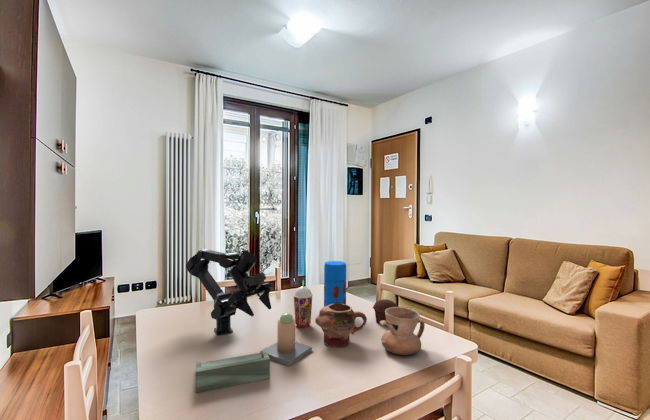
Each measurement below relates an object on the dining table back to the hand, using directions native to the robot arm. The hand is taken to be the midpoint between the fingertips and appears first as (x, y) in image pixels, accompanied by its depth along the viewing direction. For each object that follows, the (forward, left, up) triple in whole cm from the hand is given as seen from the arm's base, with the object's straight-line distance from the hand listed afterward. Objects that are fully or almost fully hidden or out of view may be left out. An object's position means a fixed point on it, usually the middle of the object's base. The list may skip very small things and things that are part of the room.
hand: (262, 312), depth 119 cm
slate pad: (+10, +6, -13) cm, 17 cm away
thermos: (-16, +42, -13) cm, 47 cm away
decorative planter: (+12, +28, -13) cm, 33 cm away
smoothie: (-10, +22, -13) cm, 27 cm away
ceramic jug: (+28, +45, -13) cm, 54 cm away
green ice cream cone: (+10, +6, -11) cm, 16 cm away
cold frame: (+15, -14, -13) cm, 24 cm away
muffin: (+4, +57, -13) cm, 58 cm away
